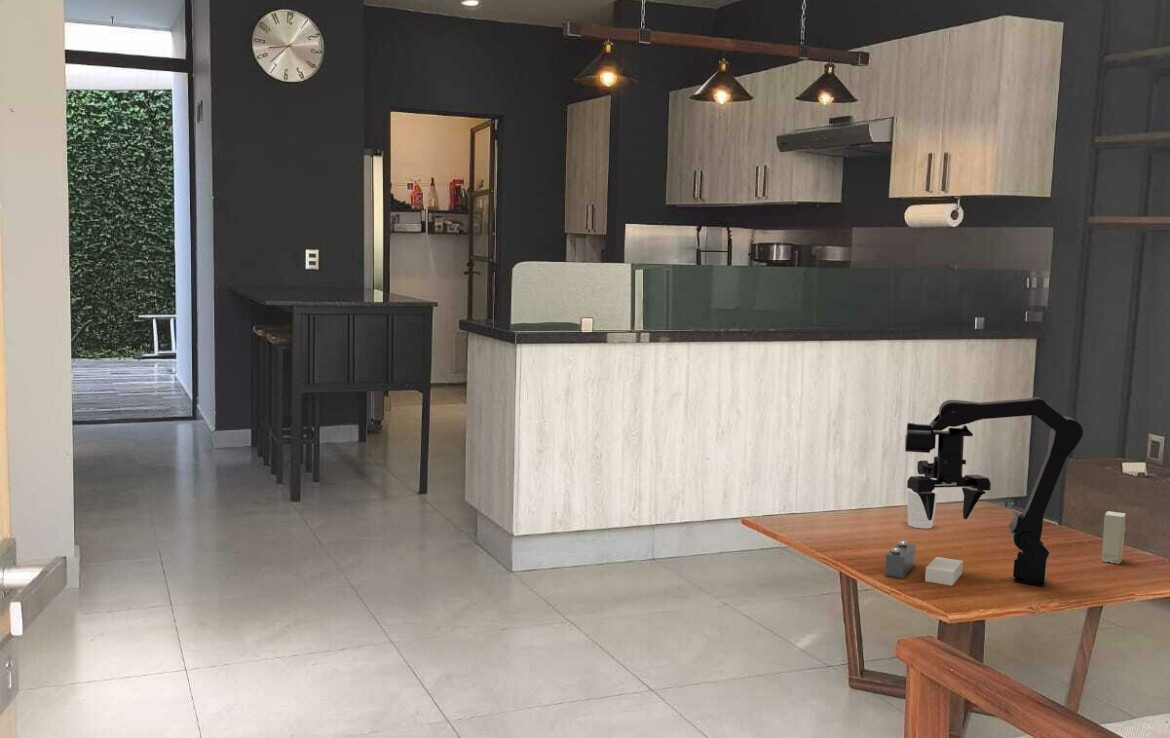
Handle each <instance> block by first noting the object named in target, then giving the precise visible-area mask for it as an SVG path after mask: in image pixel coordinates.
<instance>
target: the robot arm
mask: <svg viewBox="0 0 1170 738" xmlns="http://www.w3.org/2000/svg"><path fill="white" fill-rule="evenodd" d="M1029 416H1034V417H1035V416H1036V418H1039V420H1041V421H1042V422H1043V423H1044V424H1046V425H1047V426H1048V427H1050V431H1049V436H1048V446H1047V453H1046V456H1045V457H1044V461H1043V463H1042V465H1041V468H1040V470H1039V473H1038V476H1037V479H1036V481H1035V483H1034V485H1033V488H1032V491H1031V493H1030V496H1029V498H1028V501H1027V504H1026V506H1025V508H1024V509H1023V510H1022V511H1021V512H1018V511H1016V510H1015V511H1014V513H1013V518H1012V520H1011V522H1010V524H1009V525H1008V528H1009V535H1010V537H1011V539H1012V541H1013V543H1014V545H1015V546H1016V547H1017V549H1019V551H1018V553H1017V556H1016V557H1015V559H1014V560H1013V561H1014V562H1013V573H1012V577H1013V578H1014V580H1013V581H1014V582H1016V583H1022V584H1030V585H1035V586H1040V587H1044V586H1045V585H1046V582H1047V567H1048V565H1047V564H1048V557H1049V555H1050V551H1049V549H1048V548H1047V547H1046V545H1045V543H1043V541H1041V537H1042V534H1043V528H1044V527H1043V524H1044V515H1045V512H1046V510H1047V508H1048V505H1049V503H1050V501H1051V500H1050V499H1051V497H1052V494H1053V492H1054V491H1055V487H1056V485H1057V482H1058V480H1059V478H1060V476H1061V474H1062V473H1061V472H1062V470H1063V468H1064V466H1065V463H1066V460H1067V459H1068V458H1069V457H1070V455H1071V454H1072V453H1073V452H1074V451H1075V449H1076V448H1077V446H1078V444H1079V443H1080V441H1081V440H1082V438H1083V436H1084V435H1083V434H1084V429H1083V426H1082V425H1081V424H1080V423H1079V422H1078V421H1077V420H1075V419H1074V418H1072V417H1070V416H1066V415H1065V416H1063V415H1061V414H1060V413H1059V412H1057V411H1056V410H1055V409H1053V408H1052V407H1051V406H1049V404H1047V403H1046V401H1045V400H1044V399H1042V398H1041V397H1038V396H1032V397H1029V398H1019V399H1008V400H1007V399H1006V400H993V401H983V402H981V401H980V402H978V401H968V400H959V399H948V400H945V401H943V402H942V403H941V405H940V406H939V408H938V414H937V415H936V416H935V417H934V419H933V420H931V422H930V424H922V423H921V424H919V423H914V422H907V424H906V434H905V438H904V439H905V443H904V448H905V450H904V451H905V452H906V453H923V454H924V453H925V454H927V453H928V454H929V453H931V451H933V450H934V449H936V440H937V456H936V455H935V456H934V457H933V462H931V463H930V462H929V461H928V459H927V460H926V459H925V460H919V461H917V466H916V467H917V468H916V469H917V474H918V476H917V475H915V476H913V475H912V476H911V475H910V477H909V478H908V480H907V482H906V487H907V489H912V490H913V492H915V493H917V494H918V495H919V496H920V498H921V500H922V503H923V506H924V509H925V512H926V515H927V518H928V520H932V516H933V509H934V501H935V493H933V492H932V491H935V489H936V488H961V489H962V493H963V505H962V506H963V507H962V514H963V515H962V517H963V519H964V520H967V519H968V518H969V516H970V514H971V513H972V511H973V510H974V507H975V506H976V504H977V502H978V501H979V500H980V498H981V497H982V496H983V495H985V494H987V493H986V491H991V488H992V483H991V480H990V478H988V477H987V476H983V475H979V474H965V475H963V465H967V460H966V459H964V447H965V446H964V444H965V443H964V442H965V437H973V435H974V433H972V431H971V430H969V428H968V426H967V424H971V423H974V422H977V421H982V420H989V419H1002V418H1013V417H1015V418H1016V417H1029ZM959 426H962V427H959ZM947 428H948V430H946V431H945V429H947ZM936 436H937V437H936ZM936 438H937V439H936Z"/></svg>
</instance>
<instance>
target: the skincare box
mask: <svg viewBox="0 0 1170 738" xmlns="http://www.w3.org/2000/svg"><path fill="white" fill-rule="evenodd" d="M1126 515H1127V514H1126V512H1116V511H1110V510H1108V511H1106V512H1105V514H1104V520H1103V521H1104V522H1103V532H1102V533H1103V535H1102V548H1101V561H1100V562H1104V563H1108V562H1110V563H1109V564H1114V563H1116V565H1120V564H1121V563H1122V561H1123V556H1124V544H1125V532H1126V531H1125V528H1126Z"/></svg>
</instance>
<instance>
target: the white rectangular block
mask: <svg viewBox="0 0 1170 738" xmlns="http://www.w3.org/2000/svg"><path fill="white" fill-rule="evenodd" d="M962 574H963V560H958V559H952V558H947V557H946V558H945V557H941V556H936V557H935V558H934V559H933V560H932V561H931V562H930V563H929V564H927V566H926V567H925V576H924V577H925V578H924V581H925V582H928V583H934V584H940V585H945V586H951V587H952V586H953V585H954V584H955V583H956V581H958V579H959V578H960V577H961V575H962Z"/></svg>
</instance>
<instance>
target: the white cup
mask: <svg viewBox="0 0 1170 738" xmlns="http://www.w3.org/2000/svg"><path fill="white" fill-rule="evenodd" d="M932 492H933V493H935V501H934V509H933V516H932V520H928V518H927V515H926V512H925V509H924V506H923V503H922V500H921V498H920V496H919V495H918V494H917V493H915V492H913V490H912V489H909V488H907V508H906V509H907V510H906V511H907V526H908V527H911V528H915V529H924V530H926V529H932V528H933V525H934V518H935V513H936V507H937V506H936V505H937V498H938V497H937V496H938V492H937V491H935V490H933V491H932Z"/></svg>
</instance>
